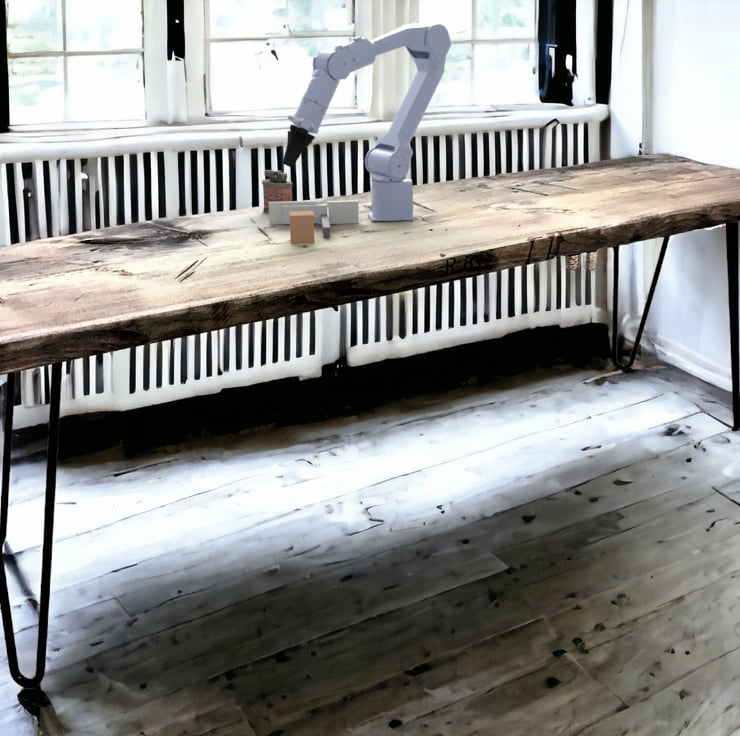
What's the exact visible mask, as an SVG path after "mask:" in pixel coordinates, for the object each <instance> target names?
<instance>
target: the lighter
mask: <svg viewBox="0 0 740 736" xmlns="http://www.w3.org/2000/svg"><path fill="white" fill-rule="evenodd" d="M263 174H264V177H269V178H268V179H267V178H266V179H263V180H261V184H262V192H263V209H262V210H263V213H264V214H267V213H268V214H269V202H289V201H293V191H292V189H293V182H292V181H287V180H288V173H287V172H282V170H276V171H275V170H269V169H265V170H264V173H263Z"/></svg>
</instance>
